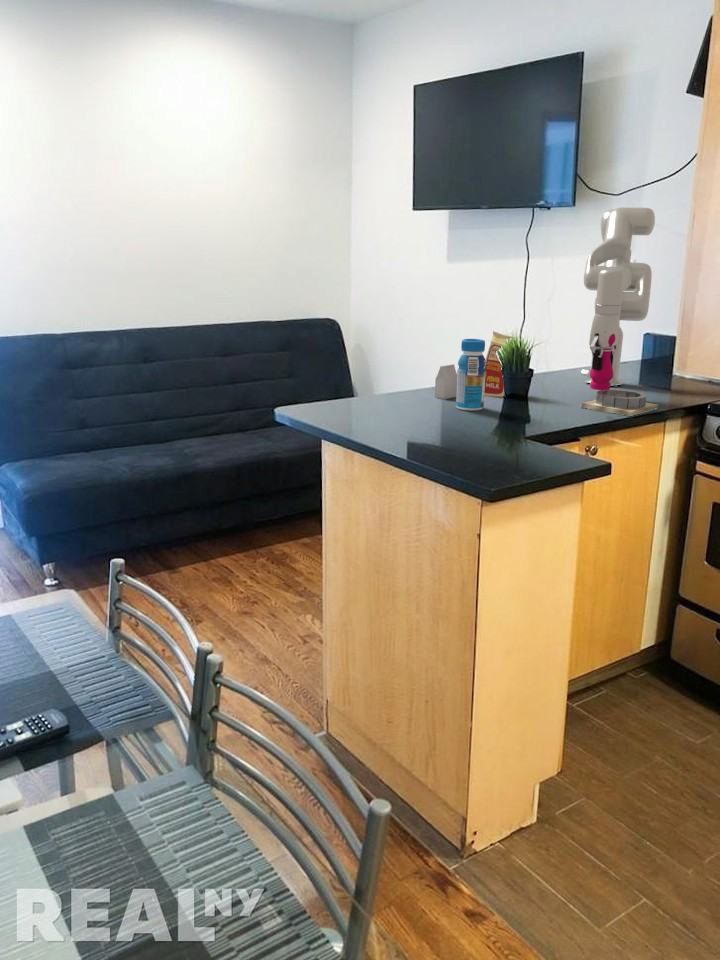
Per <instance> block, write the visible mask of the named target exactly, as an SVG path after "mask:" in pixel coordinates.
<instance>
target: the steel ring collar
mask: <svg viewBox="0 0 720 960" xmlns="http://www.w3.org/2000/svg"><path fill="white" fill-rule="evenodd" d="M595 400H596V404H599V405H602V406H606V407H612V408H623V409H637V408H642V407H645V404H646V403H647V394H645V393H643V392H639V391H635V390H626V389H609V390H596V398H595Z"/></svg>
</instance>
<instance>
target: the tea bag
mask: <svg viewBox="0 0 720 960" xmlns="http://www.w3.org/2000/svg"><path fill="white" fill-rule="evenodd" d="M434 380H435V386H434V398H435V399H442V400H446V399H452V398H456V396H457V371H456V367H455V364H446V365H441V366H439V370H438V372H437V374H436V377H435V379H434Z"/></svg>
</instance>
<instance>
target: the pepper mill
mask: <svg viewBox="0 0 720 960" xmlns="http://www.w3.org/2000/svg"><path fill="white" fill-rule="evenodd" d="M614 342H615V334H612V335H611V336H610V337H609V340H608V344H609V347H606V348H604V350H603V354H602V358H603V362H602V370H594V369H592V368H591V367H590V369H591V371H590V378H591V379H592V381H591V382H590V384H589V388H590V389H591V390H595V391H600V390H611V387H610V386H611V383H610V382H609V381H610V380H611V379H612V378H613V368H612V365H611V360H610V354H611V351H612V348H613V346H612V344H613V343H614ZM597 347H600V345H598V346H597ZM598 351H599V352H600V349H598Z"/></svg>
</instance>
